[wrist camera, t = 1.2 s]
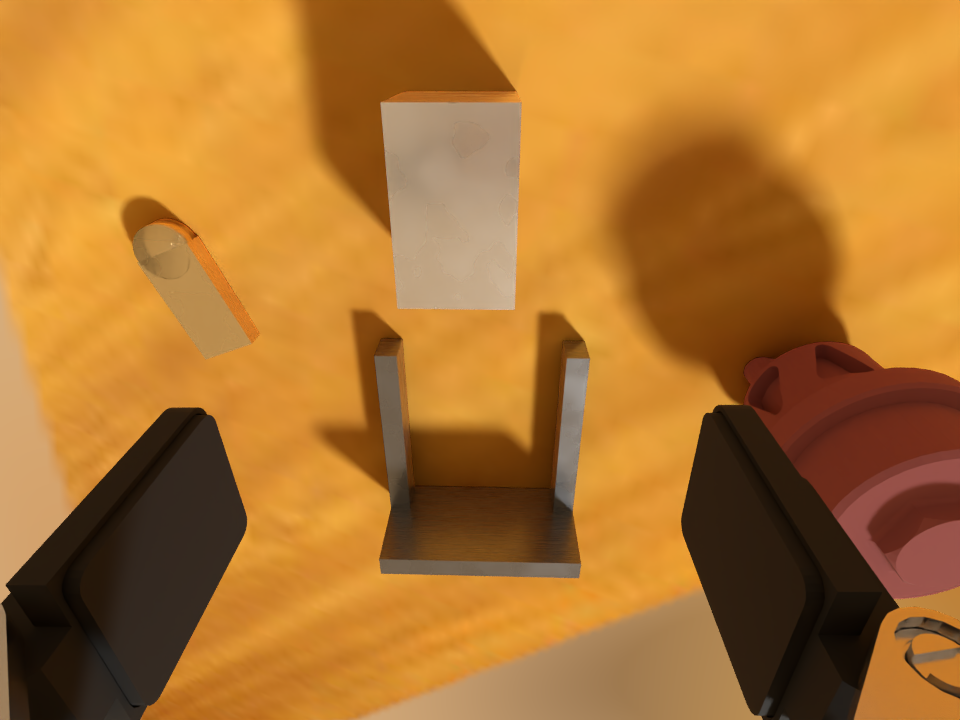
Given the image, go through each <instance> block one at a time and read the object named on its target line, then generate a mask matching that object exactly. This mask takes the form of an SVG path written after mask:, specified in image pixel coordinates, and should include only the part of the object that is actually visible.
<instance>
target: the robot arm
mask: <svg viewBox="0 0 960 720" xmlns="http://www.w3.org/2000/svg"><path fill="white" fill-rule="evenodd" d="M681 525H682V532H683V536H684V539H685V542H686V544H687V547H688V549H689V552H690V555H691V557H692V560H693V563H694V565H695V568H696V571H697V573H698V576H699V579H700V581H701V584H702V587H703V589H704V592H705V594H706V597H707V600H708V602H709V605H710V607H711V610H712V613H713V615H714V618H715V621H716V624H717V626H718V629H719V632H720V634H721V637H722V639H723V642H724V645H725V647H726V650H727V652H728V655H729V658H730V661H731V663H732V666H733V669H734V671H735V674H736V676H737V679H738V682H739V684H740V687H741V690H742V692H743V695H744V698H745V700H746V703H747V705H748V707H749V709H750V711H751V712H752V713H753V714H754V715H760V716H762V718H763V720H960V621H959V620H957V619H955V618H953V617H951V616H948V615H945V614H943V613H940V612H937V611H935V610H930V609H925V608H919V607H904V608H899V606H898V605H897V603H896V602H895V601H894V599H893V598H892V596H891V595H890V594H889V592H888V591H887V589H886V588H885V587H884V585H883V584H882V582H881V581H880V580H879V578H878V577H877V575H876V574H875V573H874V571H873V570H872V568H871V567H870V566H869V564H868V563H867V561H866V560H865V559H864V557H863V556H862V554H861V553H860V552H859V550H858V549H857V547H856V546H855V545H854V543H853V542H852V540H851V539H850V538H849V536H848V535H847V533H846V532H845V531H844V529H843V528H842V526H841V525H840V524H839V522H838V521H837V519H836V518H835V517H834V515H833V514H832V512H831V511H830V510H829V508H828V507H827V505H826V504H825V503H824V501H823V500H822V498H821V497H820V496H819V494H818V493H817V491H816V490H815V489H814V487H813V486H812V485H811V484H810V483H809V481H808V480H807V479H805V478H803V477H801V475H800V474H799V472H798V471H797V470H796V468H795V467H794V465H793V464H792V462H791V461H790V460H789V458H788V457H787V455H786V454H785V453H784V451H783V450H782V448H781V447H780V445H779V444H778V443H777V441H776V440H775V438H774V437H773V435H772V434H771V433H770V431H769V430H768V428H767V427H766V426H765V424H764V423H763V421H762V420H761V418H760V417H759V416H758V414H757V413H756V411H755V410H754V409H753V408H752V407H751V406H749V405H718V406H716V407H715V408H714V410H713V413H706V414H705V415H704V417H703V421H702V425H701V430H700V434H699V439H698V444H697V448H696V453H695V457H694V462H693V467H692V471H691V476H690V480H689V485H688V490H687V494H686V499H685V503H684V508H683V513H682V518H681ZM246 527H247V516H246V512H245V509H244V506H243V503H242V500H241V497H240V494H239V491H238V488H237V485H236V482H235V479H234V476H233V473H232V470H231V467H230V464H229V461H228V457H227V454H226V451H225V448H224V445H223V442H222V439H221V436H220V433H219V430H218V427H217V424H216V421H215V419H214V418H213V417H212V416H211V415H207V414H206V412H205V411H204V410H203V409H202V408H168V409H167V410H165V411H164V412H163V413H162V414H161V415H160V416H159V418H158V419H157V420H156V421H155V422H154V423H153V424H152V425H151V426H150V427H149V429H148V430H147V431H146V432H145V433H144V434H143V435H142V436H141V437H140V438H139V439H138V441H137V442H136V443H135V444H134V445H133V446H132V447H131V448H130V449H129V450H128V451H127V453H126V454H125V455H124V456H123V457H122V458H121V459H120V460H119V461H118V462H117V464H116V465H115V466H114V467H113V468H112V469H111V470H110V471H109V472H108V473H107V474H106V476H105V477H104V478H103V479H102V480H101V481H100V482H99V483H98V484H97V485H96V486H95V488H94V489H93V490H92V491H91V492H90V493H89V494H88V495H87V496H86V497H85V498H84V500H83V501H82V502H81V503H80V504H79V505H78V506H77V507H76V508H75V509H74V511H73V512H72V513H71V514H70V515H69V516H68V517H67V518H66V519H65V520H64V521H63V523H62V524H61V525H60V526H59V527H58V528H57V529H56V530H55V531H54V533H53V534H52V535H51V536H50V537H49V538H48V539H47V540H46V541H45V542H44V544H43V545H42V546H41V547H40V548H39V549H38V550H37V551H36V552H35V553H34V554H33V555H32V557H31V558H30V559H29V560H28V561H27V562H26V563H25V564H24V565H23V566H22V567H21V569H20V570H19V571H18V572H17V573H16V574H15V575H14V576H13V577H12V578H11V579H10V581H9V582H8V583H7V584H6V587H7V588H8V589H9V591H10V592H11V593H10V594H9V595H8V597H7V598H6V599H5V600H4V601H3V602H2V603H1V604H0V720H140V719H141V717H142V715H143V713H144V711H145V709H146V707H147V705H149V706H150V705H152V704H154V703H155V702H156V701H157V700H158V698H159V697H160V695H161V694H162V692H163V690H164V688H165V686H166V684H167V682H168V680H169V678H170V676H171V674H172V672H173V670H174V669H175V667H176V665H177V663H178V661H179V659H180V657H181V655H182V653H183V651H184V649H185V647H186V645H187V644H188V642H189V640H190V638H191V636H192V634H193V632H194V630H195V628H196V626H197V624H198V622H199V620H200V619H201V617H202V615H203V613H204V611H205V609H206V607H207V605H208V603H209V601H210V599H211V597H212V595H213V594H214V592H215V590H216V588H217V586H218V584H219V582H220V580H221V578H222V576H223V574H224V572H225V570H226V569H227V567H228V565H229V563H230V561H231V559H232V557H233V555H234V553H235V551H236V549H237V547H238V545H239V544H240V542H241V540H242V538H243V536H244V534H245V531H246Z"/></svg>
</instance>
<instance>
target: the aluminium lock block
mask: <svg viewBox="0 0 960 720" xmlns="http://www.w3.org/2000/svg"><path fill="white" fill-rule="evenodd" d="M381 115H382V127H383V139H384V151H385V163H386V175H387V187H388V199H389V211H390V223H391V235H392V247H393V259H394V271H395V283H396V295H397V307H398V309H487V310H515V285H516V255H517V224H518V194H519V163H520V133H521V100H520V98H519V96H518V94H517V91H404V92H402V93H400V94H398V95H395V96H393V97H391V98H389V99H387V100H385V101H382V102H381Z"/></svg>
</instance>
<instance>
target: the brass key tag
mask: <svg viewBox="0 0 960 720" xmlns="http://www.w3.org/2000/svg"><path fill="white" fill-rule="evenodd" d="M133 250H134V254H135V256H136V258H137V260H138V261H139V262H137V263H138V264H139V266H140V267H141V269H142V270H143V271H144V273H145V274H146V276H147V277H148V279H149V280H150V281H151V283H152V284H153V286H154V287H155V288H156V290H157V291H158V293H159V294H160V295H161V297H162V298H163V300H164V301H165V303H166V304H167V305H168V307H169V308H170V310H171V311H172V312H173V314H174V315H175V317H176V318H177V319H178V321H179V322H180V324H181V325H182V327H183V328H184V329H185V331H186V332H187V334H188V335H189V336H190V338H191V339H192V341H193V342H194V344H195V345H196V346H197V348H198V349H199V351H200V352H201V353H202V355H203V356H204V358H205V359H208V358H211V357H214V356H217V355H220V354H223V353H226V352H229V351H232V350H235V349H238V348H241V347H244V346H247V345H250V344H252V343H253V342H254V341H255V339H256V338H257V337H258V336H259V334H260V333H259V331H258V329H257V328H256V326H255V325H254V323H253V322H252V320H251V318H250V317H249V315H248V314H247V312H246V310H245V309H244V307H243V306H242V304H241V303H240V301H239V299H238V298H237V296H236V295H235V293H234V292H233V290H232V288H231V287H230V285H229V284H228V282H227V280H226V279H225V277H224V276H223V274H222V273H221V271H220V269H219V268H218V266H217V265H216V263H215V262H214V260H213V258H212V257H211V255H210V254H209V252H208V251H207V249H206V247H205V246H204V244H203V243H202V241H201V239H200V238H199V236H196V235H195V234H194V232H193V231H192V230H191V229H190V228H189V227H187V226H186V225H185V224H183V223H181V222H179V221H177V220H173V219H159V220H157V221H155V222H153V223H151V224H149V225H147V226H145V227H143V228H141V229H140V230H139V231H138V232H137V233H136V234H135V236H134V239H133Z"/></svg>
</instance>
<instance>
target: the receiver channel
mask: <svg viewBox="0 0 960 720" xmlns="http://www.w3.org/2000/svg"><path fill="white" fill-rule="evenodd" d="M374 359H375V368H376V377H377V386H378V395H379V403H380V412H381V421H382V430H383V439H384V448H385V457H386V466H387V475H388V484H389V492H390V501H391V511H390V515H389V520H388V524H387V528H386V532H385V537H384V541H383V545H382V550H381V554H380V558H379V561H380V568H381V574H424V575H468V576H512V577H555V578H579V574H580V567H581V561H580V555H579V549H578V542H577V536H576V530H575V524H574V517H573V503H574V494H575V485H576V476H577V467H578V458H579V450H580V441H581V432H582V423H583V414H584V405H585V396H586V388H587V379H588V370H589V361H590V358H589V354H588V351H587V348H586V344H585V341H563V346H562V358H561V370H560V382H559V394H558V406H557V418H556V430H555V442H554V454H553V466H552V478H551V489H546V488H493V487H440V486H414V475H413V463H412V451H411V439H410V426H409V414H408V402H407V389H406V377H405V365H404V353H403V340H402V339H381V340H380V343H379V345H378V348H377V350H376V353H375V355H374Z"/></svg>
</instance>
